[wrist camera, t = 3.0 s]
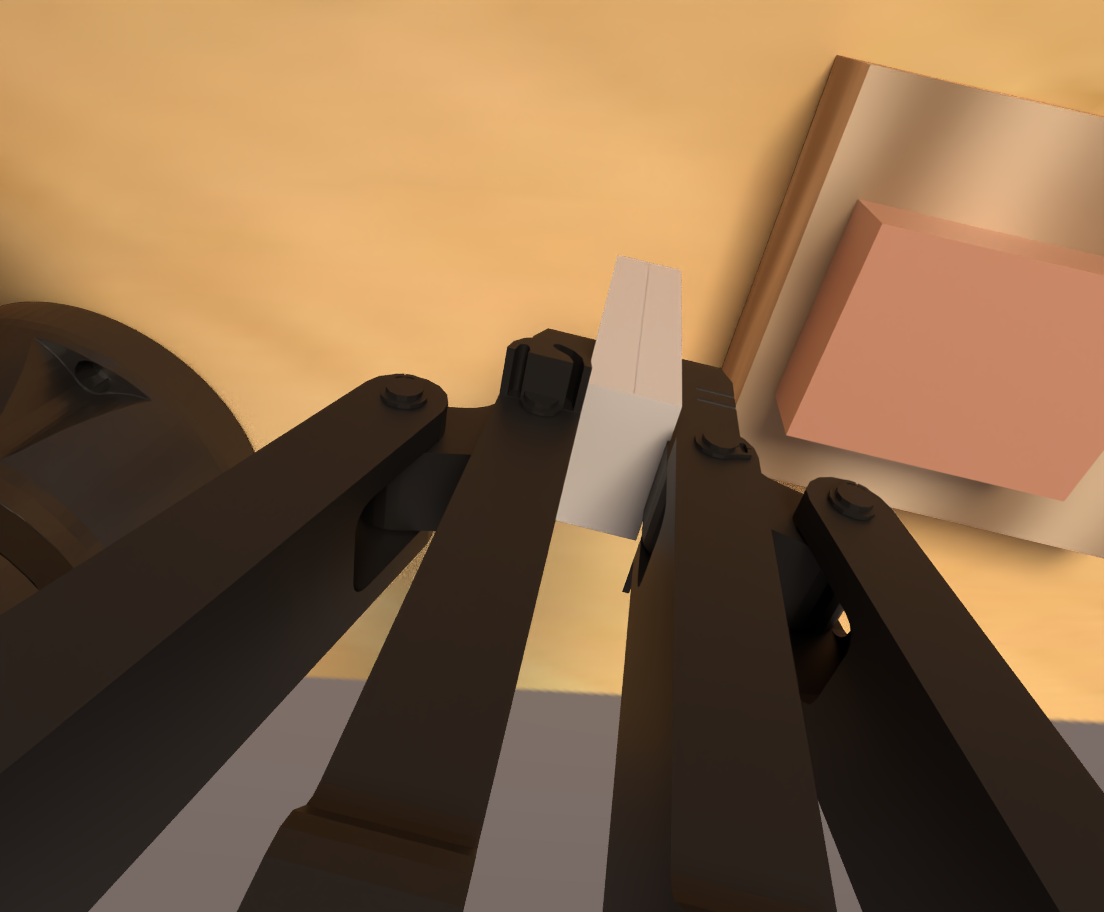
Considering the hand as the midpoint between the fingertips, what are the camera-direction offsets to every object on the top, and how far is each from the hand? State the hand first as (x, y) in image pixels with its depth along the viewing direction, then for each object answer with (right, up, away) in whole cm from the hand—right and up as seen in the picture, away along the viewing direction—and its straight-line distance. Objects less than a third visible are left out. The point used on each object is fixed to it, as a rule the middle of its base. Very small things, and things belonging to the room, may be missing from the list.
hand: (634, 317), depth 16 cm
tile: (+9, 0, +3) cm, 10 cm away
